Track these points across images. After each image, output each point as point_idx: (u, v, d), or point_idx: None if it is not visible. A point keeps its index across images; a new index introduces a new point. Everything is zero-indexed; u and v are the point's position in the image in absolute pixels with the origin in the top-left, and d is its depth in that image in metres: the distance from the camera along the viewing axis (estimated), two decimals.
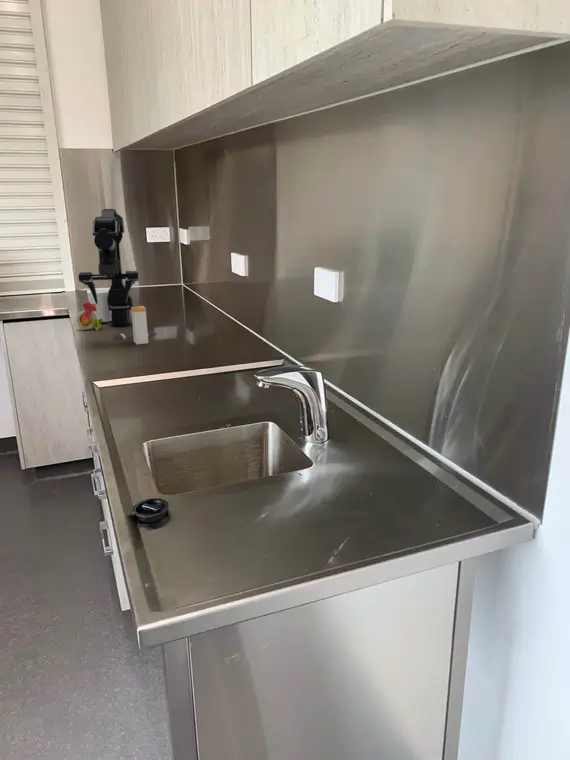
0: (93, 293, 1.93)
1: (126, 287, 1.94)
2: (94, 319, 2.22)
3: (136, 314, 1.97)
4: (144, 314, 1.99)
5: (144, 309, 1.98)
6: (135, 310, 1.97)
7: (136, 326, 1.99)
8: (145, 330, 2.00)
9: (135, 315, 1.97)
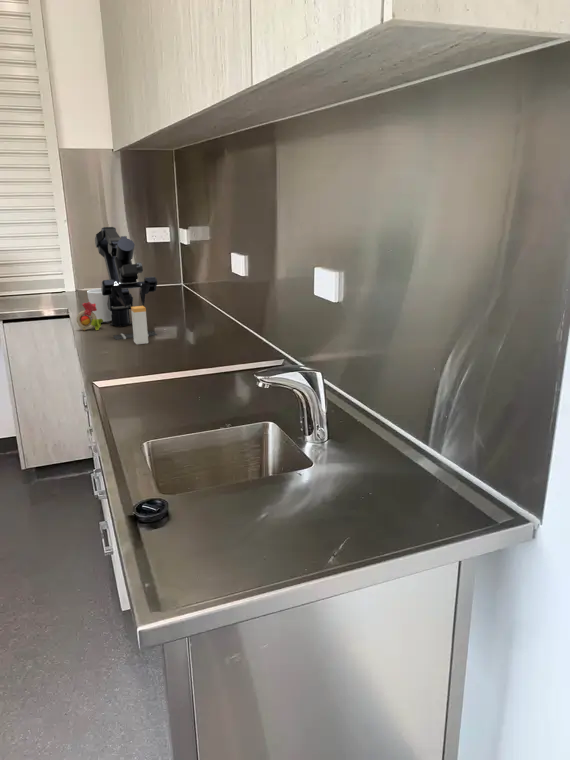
0: (122, 296, 2.03)
1: (143, 291, 2.06)
2: (94, 319, 2.22)
3: (136, 314, 1.97)
4: (144, 314, 1.99)
5: (144, 309, 1.98)
6: (135, 310, 1.97)
7: (136, 326, 1.99)
8: (145, 330, 2.00)
9: (135, 315, 1.97)
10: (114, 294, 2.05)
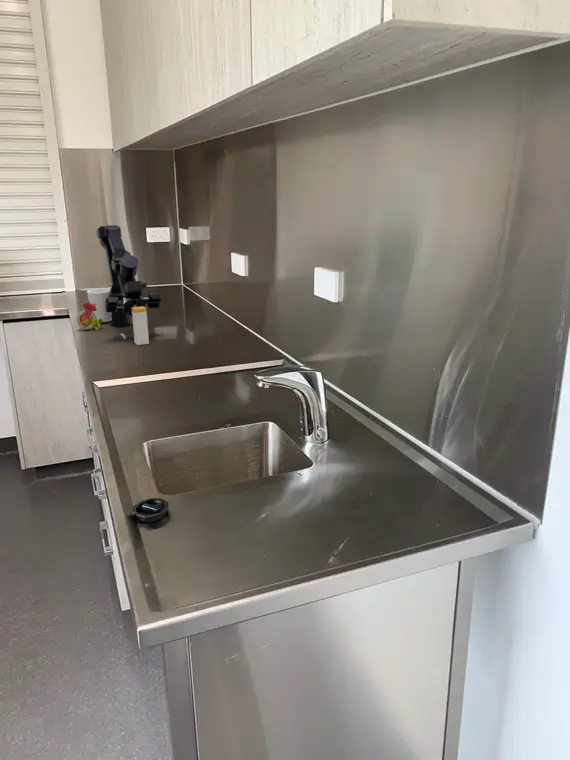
0: None
1: None
2: (94, 319, 2.22)
3: (137, 315, 1.97)
4: (145, 315, 1.98)
5: (144, 309, 1.97)
6: (136, 311, 1.96)
7: (137, 327, 1.98)
8: (146, 331, 2.00)
9: (136, 316, 1.97)
10: (126, 310, 2.05)
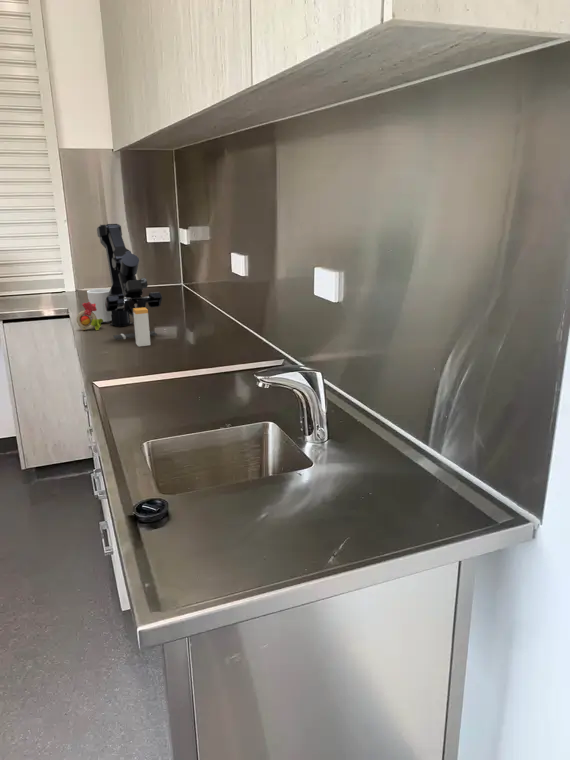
0: None
1: (139, 307, 2.02)
2: (94, 319, 2.22)
3: (138, 316, 1.95)
4: (146, 316, 1.96)
5: (146, 311, 1.96)
6: (137, 312, 1.94)
7: (138, 328, 1.96)
8: (147, 332, 1.98)
9: (137, 317, 1.95)
10: (127, 309, 2.03)
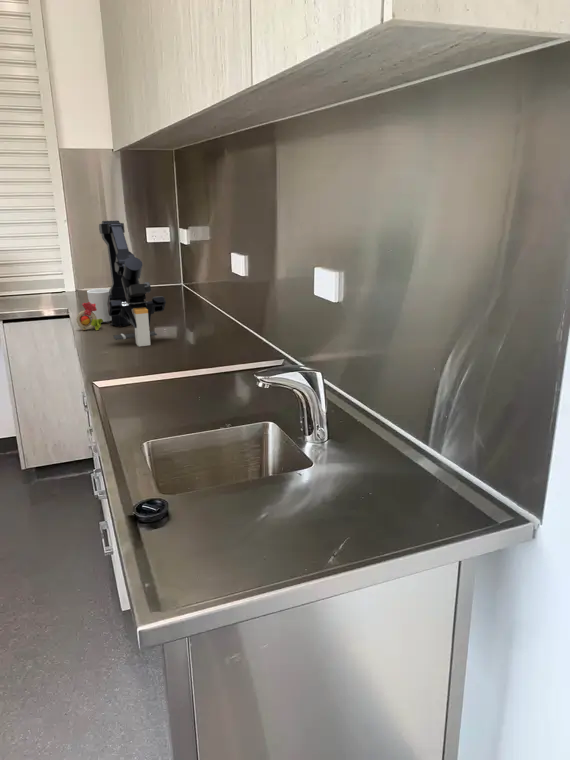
0: (132, 317, 1.96)
1: (148, 311, 1.99)
2: (94, 319, 2.22)
3: (138, 316, 1.95)
4: (146, 316, 1.96)
5: (146, 311, 1.96)
6: (137, 312, 1.94)
7: (138, 328, 1.96)
8: (147, 332, 1.98)
9: (137, 317, 1.95)
10: (124, 314, 1.99)
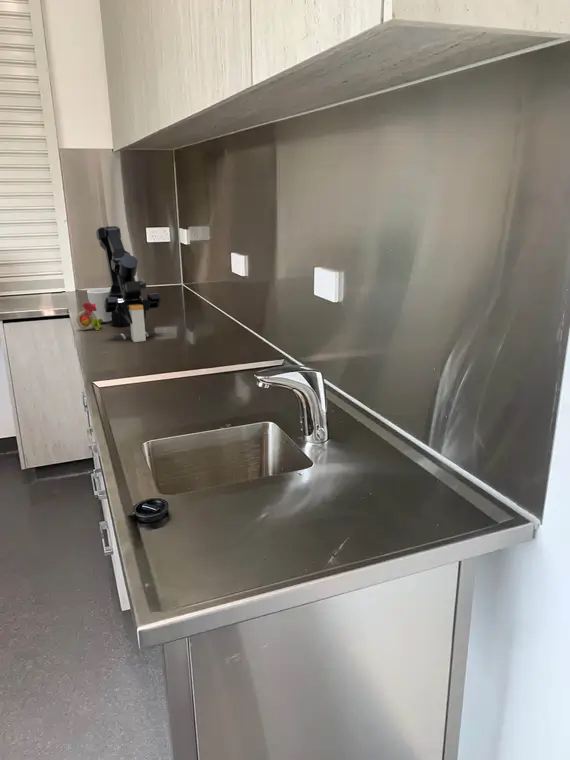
0: (128, 313, 2.02)
1: (143, 308, 2.05)
2: (94, 319, 2.22)
3: (134, 312, 2.00)
4: (142, 312, 2.02)
5: (141, 307, 2.01)
6: (133, 308, 2.00)
7: (134, 324, 2.02)
8: (143, 328, 2.03)
9: (133, 313, 2.00)
10: (120, 311, 2.05)
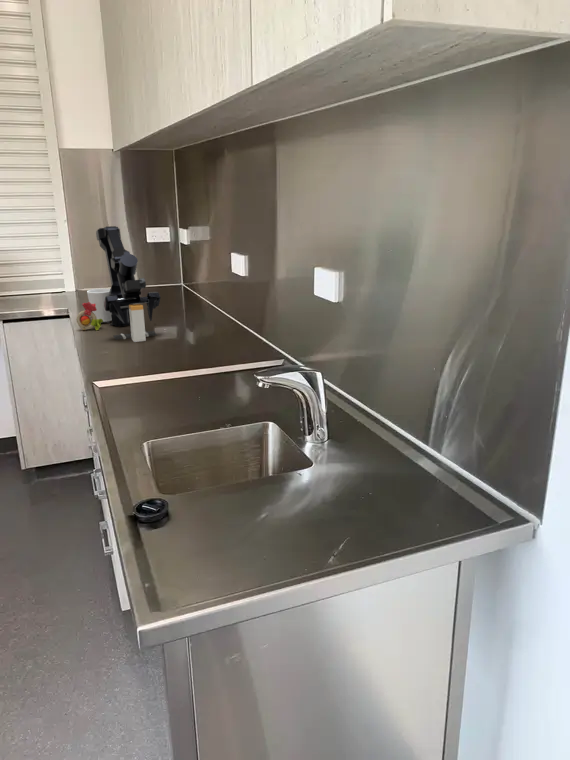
0: (120, 313, 2.01)
1: (150, 306, 2.06)
2: (94, 319, 2.22)
3: (134, 312, 2.00)
4: (142, 312, 2.02)
5: (141, 307, 2.01)
6: (133, 308, 2.00)
7: (134, 324, 2.02)
8: (143, 328, 2.03)
9: (133, 313, 2.00)
10: (113, 310, 2.04)
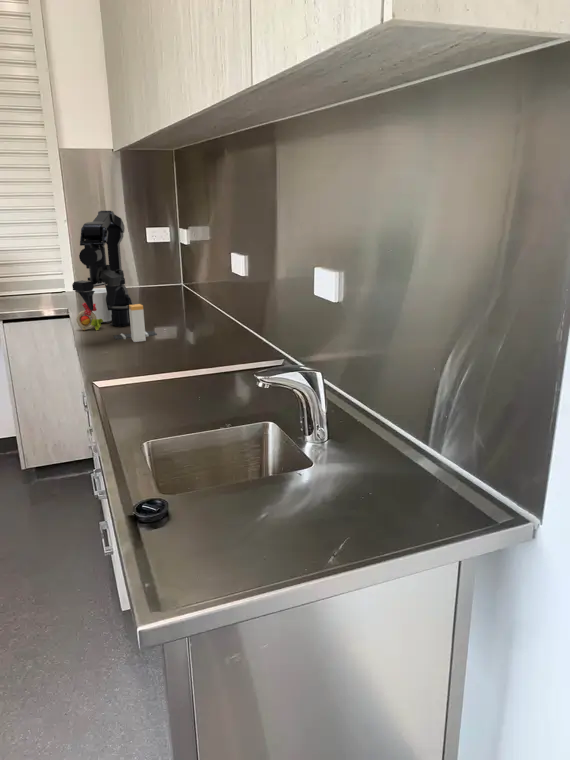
0: (91, 301, 1.97)
1: (115, 292, 2.05)
2: (94, 319, 2.22)
3: (134, 312, 2.00)
4: (142, 312, 2.02)
5: (141, 307, 2.01)
6: (133, 308, 2.00)
7: (134, 324, 2.02)
8: (143, 328, 2.03)
9: (133, 313, 2.00)
10: None
